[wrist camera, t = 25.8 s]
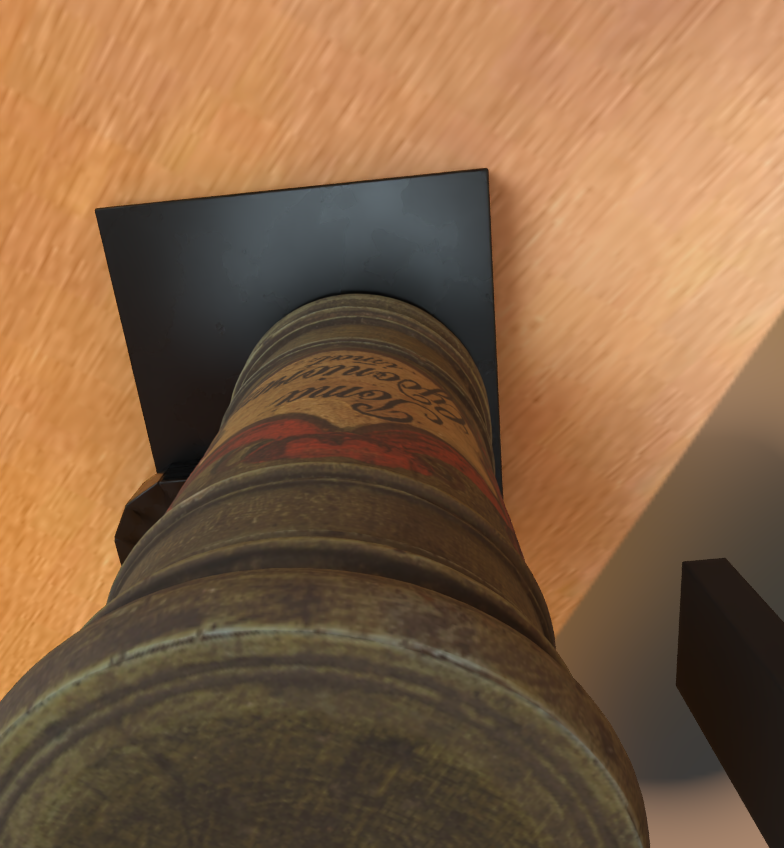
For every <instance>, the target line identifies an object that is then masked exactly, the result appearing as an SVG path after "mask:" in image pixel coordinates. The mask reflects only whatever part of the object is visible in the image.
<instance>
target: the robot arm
mask: <svg viewBox="0 0 784 848" xmlns="http://www.w3.org/2000/svg"><path fill="white" fill-rule="evenodd" d="M676 686H677V688H678V690H679V692H680V693H681V695H682V697H683V699H684V700H685V702H686V704H687V706H688V707H689V709H690V711H691V712H692V714H693V716H694V718H695V720H696V721H697V723H698V725H699V726H700V728H701V730H702V732H703V733H704V735H705V737H706V739H707V740H708V742H709V744H710V746H711V747H712V749H713V751H714V752H715V754H716V756H717V758H718V759H719V761H720V763H721V765H722V766H723V768H724V770H725V771H726V773H727V775H728V777H729V779H730V780H731V782H732V784H733V785H734V787H735V789H736V790H737V792H738V794H739V796H740V798H741V799H742V801H743V803H744V804H745V806H746V808H747V810H748V811H749V813H750V815H751V817H752V818H753V820H754V822H755V824H756V825H757V827H758V829H759V830H760V832H761V834H762V836H763V837H764V839H765V841H766V843H767V844H768V846H769V848H784V622H783V621H782V620H781V619H780V618H779V617H778V615H776V613H775V612H774V611H773V610H772V609H771V608H770V607H769V606H768V605H767V603H766V602H765V601H764V600H763V599H762V598H761V597H760V596H759V594H757V592H756V591H755V590H754V589H753V588H752V587H751V586H750V585H749V583H747V581H746V580H745V579H744V578H743V577H742V576H741V575H740V574H739V573H738V571H737V570H736V569H735V568H734V567H733V566H732V565H731V564H730V563H729V561H728V560H727V559H726V558H719V559H707V560H696V561H685V562H682V581H681V599H680V617H679V636H678V655H677V674H676Z"/></svg>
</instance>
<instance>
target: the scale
mask: <svg viewBox="0 0 784 848" xmlns="http://www.w3.org/2000/svg"><path fill="white" fill-rule="evenodd" d="M95 214H96V218H97V222H98V226H99V230H100V235H101V239H102V243H103V247H104V252H105V256H106V260H107V264H108V268H109V273H110V277H111V281H112V285H113V289H114V294H115V298H116V302H117V306H118V311H119V315H120V319H121V323H122V327H123V332H124V336H125V340H126V344H127V348H128V353H129V357H130V361H131V365H132V370H133V374H134V378H135V382H136V386H137V391H138V395H139V399H140V403H141V408H142V412H143V416H144V420H145V424H146V429H147V433H148V437H149V441H150V445H151V450H152V454H153V458H154V462H155V467H156V471H157V474H155V475H154V476H153V477H151V478H150V479H148V480H147V481H146V482H144V483H143V484H142V486H141V487H140V488H139V489H138V491H137V492H136V493H135V494H134V495H133V497H132V498H131V499H130V500H129V502H128V503H127V504H126V506H125V509H124V512H123V514H122V517H121V520H120V523H119V526H118V528H117V531H116V534H115V544H116V548H117V552H118V555H119V559H120V563H121V566H122V564H123V563H124V561H125V560H126V558H127V557H128V555H129V554H130V552H131V551H132V549H133V548H134V546H135V545H136V544H137V543H138V542H139V540H140V539H141V538H142V537H143V536H144V534H145V533H146V532H147V531H148V530H149V529H150V528H151V527H152V526H153V525H154V524H155V523H156V522H157V521H158V520H159V519H161V518H162V517H163V516H164V514H165V513H166V511H167V510H168V508H169V507H170V505H171V504H172V502H173V501H174V499H175V498H176V496H177V494H178V493H179V491H180V489H181V488H182V486H183V485H184V484H185V482H186V481H187V479H188V478H189V476H190V475H191V473H192V472H193V471H194V469H195V468H196V466H197V465H198V464H199V462H200V461H201V459H202V458H203V456H204V455H205V453H206V451H207V449H208V448H209V446H210V445H211V443H212V441H213V440H214V438H215V437H216V435H217V434H218V433H219V429H220V426H221V423H222V420H223V417H224V415H225V413H226V411H227V409H228V407H229V405H230V403H231V398H232V394H233V391H234V388H235V385H236V382H237V380H238V378H239V376H240V374H241V372H242V370H243V368H244V366H245V364H246V362H247V360H248V358H249V356H250V354H251V353H252V351H253V349H254V348H255V346H256V345H257V343H258V342H259V341H260V339H261V338H262V337H263V336H264V335H265V334H266V332H267V331H268V330H269V329H270V328H272V327H273V326H274V325H275V324H276V323H277V322H278V321H280V320H281V319H282V318H284V317H285V316H286V315H288V314H289V313H291V312H293V311H294V310H296V309H298V308H300V307H302V306H304V305H306V304H309V303H311V302H314V301H317V300H320V299H323V298H327V297H331V296H337V295H344V294H370V295H379V296H384V297H389V298H393V299H397V300H400V301H403V302H405V303H408V304H410V305H413V306H415V307H417V308H419V309H421V310H423V311H424V312H426V313H428V314H429V315H431V316H432V317H434V318H435V319H437V320H438V321H439V322H441V323H442V324H443V325H444V326H445V327H447V328H448V329H449V330H450V331H451V332H452V333H453V334H454V335H455V336H456V337H457V338H458V339H459V340H460V342H461V343H462V344H463V345H464V347H465V348H466V350H467V351H468V353H469V354H470V356H471V357H472V359H473V361H474V363H475V365H476V367H477V369H478V371H479V373H480V375H481V378H482V380H483V383H484V386H485V389H486V394H487V398H488V403H489V411H490V419H491V428H492V449H493V454H494V461H495V478H496V481H497V483H498V486H499V489H500V493H501V495H502V499H503V482H502V460H501V438H500V415H499V393H498V371H497V349H496V327H495V305H494V283H493V261H492V238H491V216H490V194H489V172H488V168H481V169H471V170H462V171H452V172H442V173H433V174H423V175H413V176H404V177H394V178H384V179H375V180H365V181H355V182H346V183H336V184H326V185H317V186H307V187H298V188H288V189H278V190H269V191H259V192H249V193H240V194H230V195H220V196H211V197H201V198H191V199H182V200H172V201H162V202H153V203H143V204H134V205H124V206H114V207H105V208H96V209H95Z"/></svg>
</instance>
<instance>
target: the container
mask: <svg viewBox="0 0 784 848" xmlns="http://www.w3.org/2000/svg"><path fill="white" fill-rule="evenodd" d="M0 848H650V841H649V831H648V824H647V817H646V812H645V807H644V801H643V797H642V794H641V790H640V787H639V784H638V781H637V778H636V775H635V772H634V769H633V766H632V764H631V762H630V759H629V758H628V755H627V753H626V751H625V750H624V748H623V746H622V744H621V742H620V740H619V738H618V737H617V735H616V733H615V731H614V729H613V728H612V726H611V724H610V723H609V721H608V720H607V718H606V717H605V715H604V714H603V713H602V711H601V710H600V709H599V707H598V706H597V705H596V704H595V703H594V701H593V700H592V699H591V697H590V696H589V695H588V694H587V693H586V691H585V690H584V689H583V688H582V686H581V685H580V684H579V683H578V682H577V681H576V680H575V679H574V678H573V677H572V675H571V673H570V671H569V669H568V668H567V666H566V664H565V663H564V661H563V660H562V658H561V657H560V655H559V654H558V653H557V651H556V646H555V637H554V631H553V626H552V622H551V618H550V614H549V611H548V607H547V604H546V602H545V599H544V597H543V594H542V592H541V590H540V588H539V586H538V584H537V582H536V580H535V578H534V576H533V574H532V573H531V571H530V569H529V568H528V566H527V564H526V563H525V559H524V556H523V553H522V551H521V548H520V545H519V542H518V540H517V537H516V534H515V531H514V528H513V525H512V522H511V519H510V517H509V514H508V512H507V510H506V507H505V505H504V502H503V499H502V495H501V493H500V489H499V486H498V483H497V481H496V478H495V461H494V454H493V449H492V428H491V419H490V411H489V403H488V398H487V394H486V389H485V386H484V383H483V380H482V378H481V375H480V373H479V371H478V369H477V367H476V365H475V363H474V361H473V359H472V357H471V356H470V354H469V353H468V351H467V350H466V348H465V347H464V345H463V344H462V343H461V342H460V340H459V339H458V338H457V337H456V336H455V335H454V334H453V333H452V332H451V331H450V330H449V329H448V328H447V327H445V326H444V325H443V324H442V323H441V322H439V321H438V320H437V319H435V318H434V317H432V316H431V315H429V314H428V313H426V312H424V311H423V310H421V309H419V308H417V307H415V306H413V305H410V304H408V303H405V302H403V301H400V300H397V299H393V298H389V297H384V296H379V295H370V294H344V295H337V296H331V297H327V298H323V299H320V300H317V301H314V302H311V303H309V304H306V305H304V306H302V307H300V308H298V309H296V310H294V311H293V312H291V313H289V314H288V315H286V316H285V317H284V318H282V319H281V320H280V321H278V322H277V323H276V324H275V325H274V326H273V327H272V328H270V329H269V330H268V331H267V332H266V334H265V335H264V336H263V337H262V338H261V339H260V341H259V342H258V343H257V345H256V346H255V348H254V349H253V351H252V353H251V354H250V356H249V358H248V360H247V362H246V364H245V366H244V368H243V370H242V372H241V374H240V376H239V378H238V380H237V382H236V385H235V388H234V391H233V394H232V398H231V403H230V405H229V407H228V409H227V411H226V413H225V415H224V417H223V420H222V423H221V426H220V429H219V433H218V434H217V435H216V437H215V438H214V440H213V441H212V443H211V445H210V446H209V448H208V449H207V451H206V453H205V455H204V456H203V458H202V459H201V461H200V462H199V464H198V465H197V466H196V468H195V469H194V471H193V472H192V473H191V475H190V476H189V478H188V479H187V481H186V482H185V484H184V485H183V486H182V488H181V489H180V491H179V493H178V494H177V496H176V498H175V499H174V501H173V502H172V504H171V505H170V507H169V508H168V510H167V511H166V513H165V514H164V516H163V517H162V518H161V519H159V520H158V521H157V522H156V523H155V524H154V525H153V526H152V527H151V528H150V529H149V530H148V531H147V532H146V533H145V534H144V536H143V537H142V538H141V539H140V540H139V542H138V543H137V544H136V545H135V546H134V548H133V549H132V551H131V552H130V554H129V555H128V557H127V558H126V560H125V561H124V563H123V564H122V566H121V568H120V570H119V572H118V574H117V576H116V578H115V580H114V583H113V585H112V587H111V590H110V593H109V596H108V600H107V604H106V606H104V607H103V608H102V609H101V610H100V611H99V612H97V613H96V614H95V615H94V616H93V617H92V618H91V619H90V620H89V621H88V622H87V623H86V624H85V625H84V626H83V628H82V629H81V630H80V631H79V632H77V633H76V634H74V635H73V636H71V637H70V638H68V639H67V640H66V641H64V642H63V643H61V644H60V645H59V646H57V647H56V648H55V649H53V650H52V651H51V652H49V653H48V654H47V655H46V656H45V657H43V658H42V659H41V660H40V661H39V662H37V663H36V664H35V665H34V666H33V667H32V668H31V669H30V670H29V671H28V672H27V673H26V674H25V675H24V676H23V677H22V678H21V679H20V680H19V681H18V682H17V683H16V684H15V685H14V686H13V688H12V689H11V690H10V691H9V692H8V693H7V694H6V695H5V697H4V698H3V699H2V700H1V702H0Z"/></svg>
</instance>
